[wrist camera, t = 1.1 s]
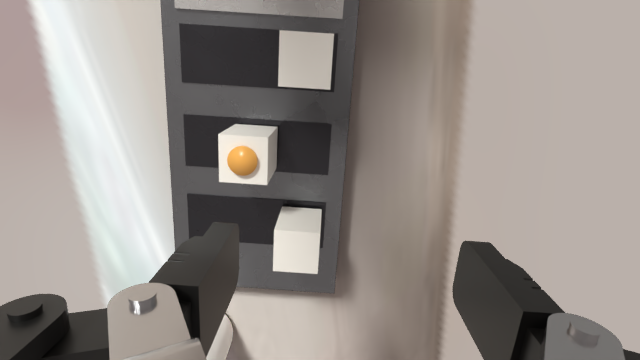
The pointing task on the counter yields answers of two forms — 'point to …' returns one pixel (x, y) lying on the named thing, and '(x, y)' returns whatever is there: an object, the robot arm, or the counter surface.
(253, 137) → the block
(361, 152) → the counter surface
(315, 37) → the block
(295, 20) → the panel
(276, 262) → the block
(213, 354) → the can
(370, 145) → the counter surface
